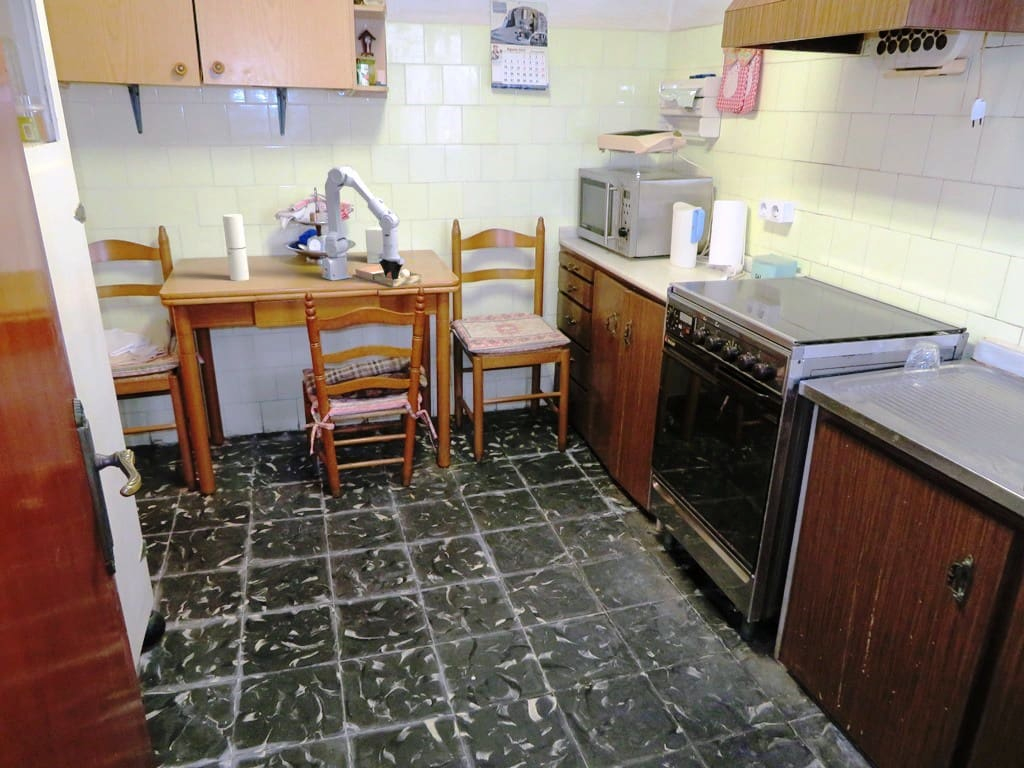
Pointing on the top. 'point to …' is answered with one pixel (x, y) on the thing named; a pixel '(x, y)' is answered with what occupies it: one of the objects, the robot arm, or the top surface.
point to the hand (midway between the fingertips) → (391, 279)
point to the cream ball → (404, 273)
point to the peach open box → (369, 272)
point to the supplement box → (374, 244)
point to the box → (397, 282)
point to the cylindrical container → (236, 247)
